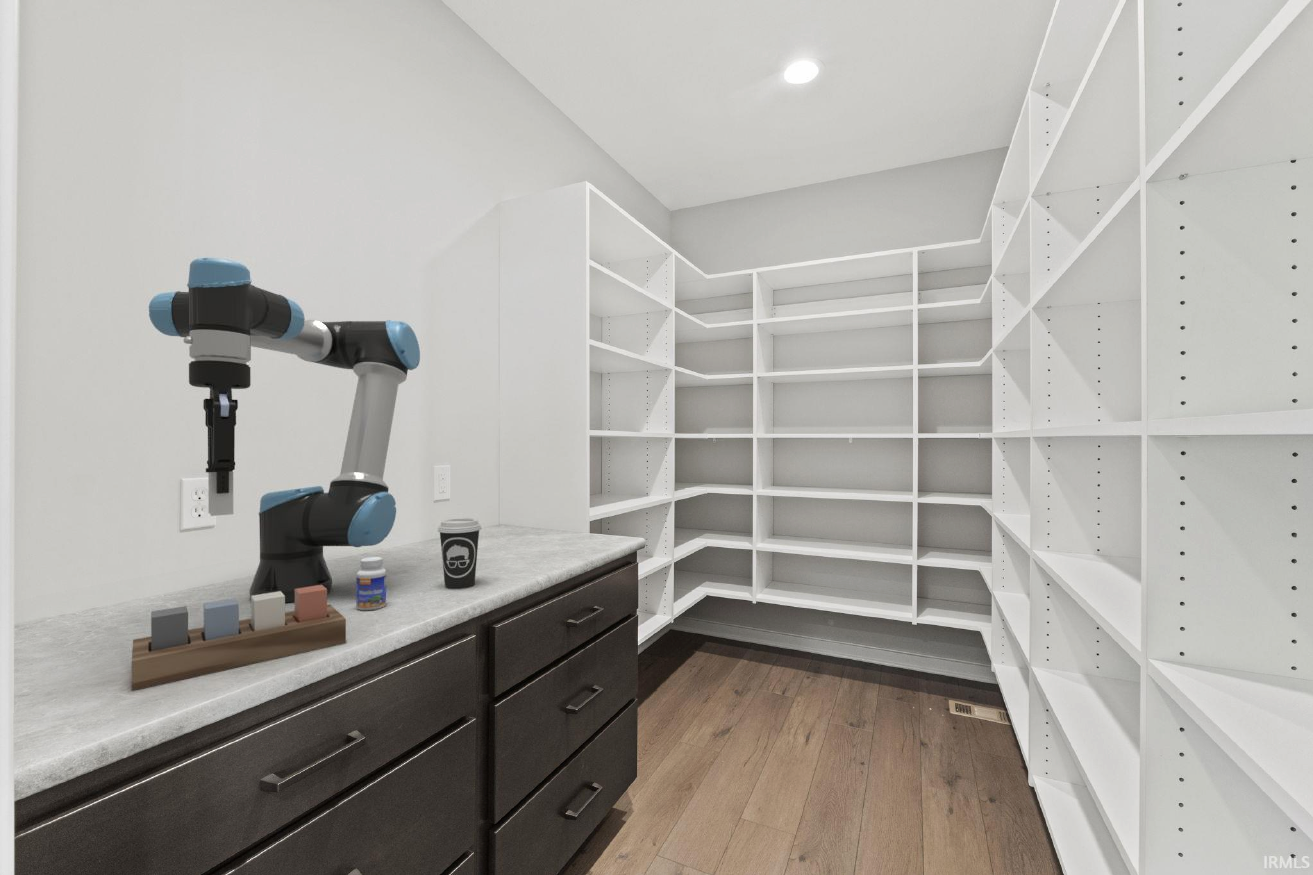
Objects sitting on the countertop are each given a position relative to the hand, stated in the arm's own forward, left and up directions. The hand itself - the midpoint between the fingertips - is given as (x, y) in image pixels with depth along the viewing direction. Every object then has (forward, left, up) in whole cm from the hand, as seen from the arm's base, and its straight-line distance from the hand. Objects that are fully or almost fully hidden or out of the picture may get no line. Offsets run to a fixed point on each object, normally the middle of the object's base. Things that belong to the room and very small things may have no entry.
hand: (220, 513), depth 86 cm
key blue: (0, 0, -19) cm, 19 cm away
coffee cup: (-17, +45, -23) cm, 53 cm away
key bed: (0, +3, -23) cm, 23 cm away
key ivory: (0, +6, -19) cm, 20 cm away
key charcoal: (0, -6, -19) cm, 20 cm away
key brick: (0, +12, -19) cm, 22 cm away
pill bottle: (-13, +25, -23) cm, 36 cm away
